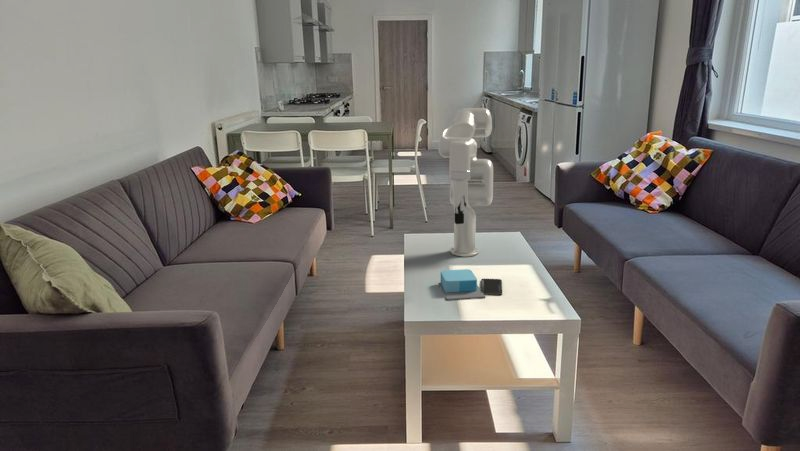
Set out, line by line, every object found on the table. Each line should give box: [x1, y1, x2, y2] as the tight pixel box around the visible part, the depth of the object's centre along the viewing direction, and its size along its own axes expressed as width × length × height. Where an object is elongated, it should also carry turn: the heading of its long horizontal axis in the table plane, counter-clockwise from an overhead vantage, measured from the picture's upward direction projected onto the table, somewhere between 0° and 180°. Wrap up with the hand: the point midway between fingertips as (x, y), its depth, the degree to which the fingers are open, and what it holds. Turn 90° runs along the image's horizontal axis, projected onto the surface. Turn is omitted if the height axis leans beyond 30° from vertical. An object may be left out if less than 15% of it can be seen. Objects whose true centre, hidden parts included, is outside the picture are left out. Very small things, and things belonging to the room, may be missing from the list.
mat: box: [437, 282, 486, 301], centre depth 201 cm, size 16×14×1 cm
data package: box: [440, 268, 478, 293], centre depth 204 cm, size 12×4×12 cm
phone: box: [480, 278, 503, 297], centre depth 204 cm, size 8×1×15 cm
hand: (459, 223), depth 204 cm, fingers closed
